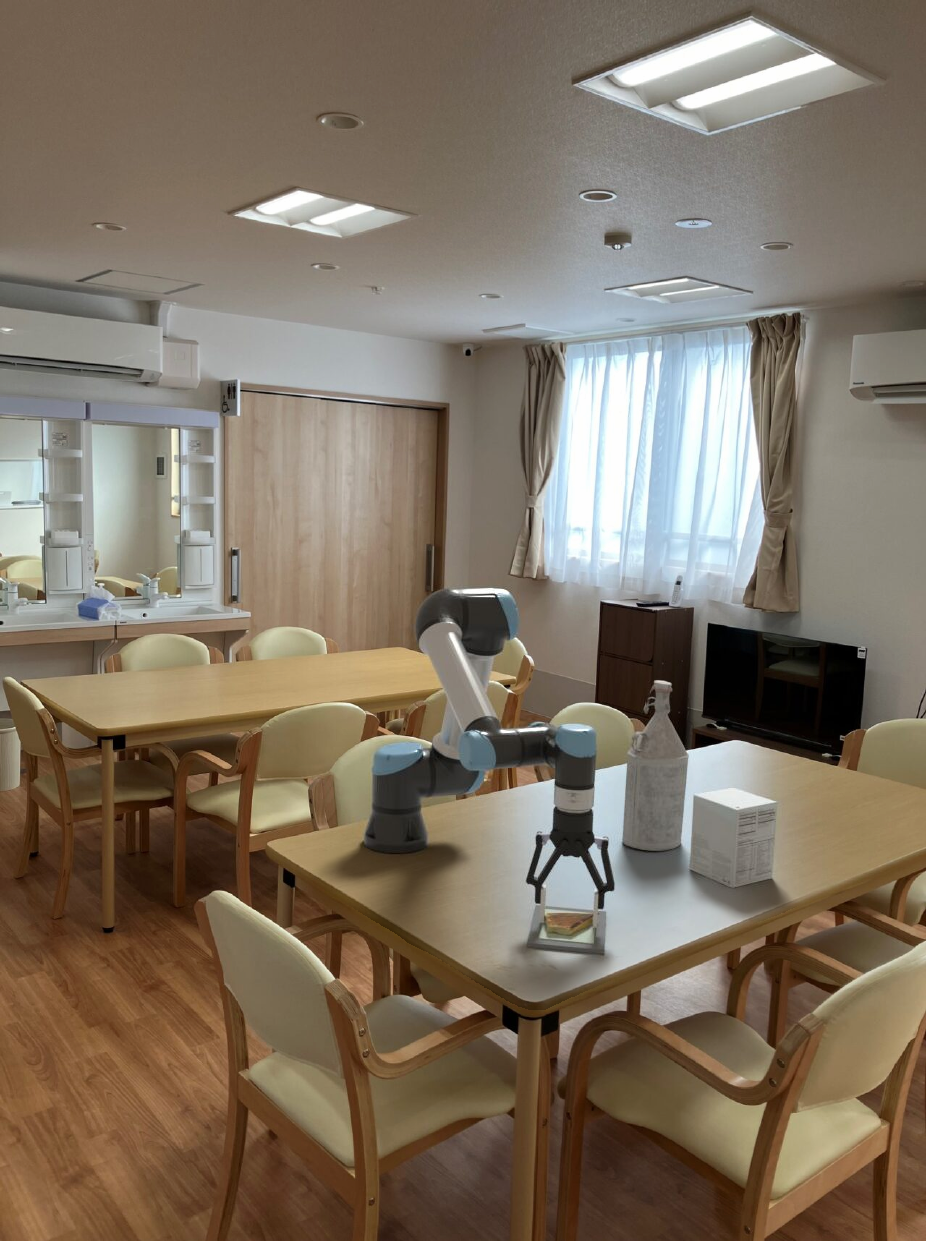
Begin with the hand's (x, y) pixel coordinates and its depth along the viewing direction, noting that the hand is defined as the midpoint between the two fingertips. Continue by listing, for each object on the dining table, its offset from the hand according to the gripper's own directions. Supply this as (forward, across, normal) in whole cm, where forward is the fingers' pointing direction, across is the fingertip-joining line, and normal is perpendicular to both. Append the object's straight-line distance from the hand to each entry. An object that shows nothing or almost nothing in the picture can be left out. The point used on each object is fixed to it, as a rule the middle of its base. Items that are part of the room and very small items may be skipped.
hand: (568, 922), depth 192 cm
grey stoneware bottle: (+2, +17, +56) cm, 59 cm away
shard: (+1, 0, 0) cm, 1 cm away
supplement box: (+2, +34, +39) cm, 52 cm away
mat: (+2, 0, 0) cm, 2 cm away
